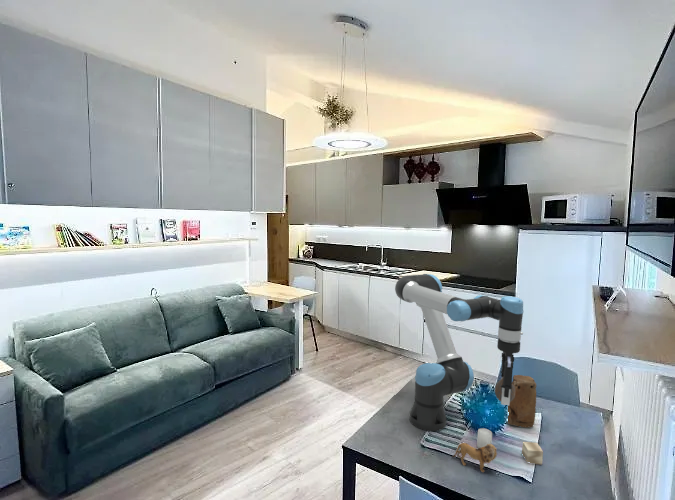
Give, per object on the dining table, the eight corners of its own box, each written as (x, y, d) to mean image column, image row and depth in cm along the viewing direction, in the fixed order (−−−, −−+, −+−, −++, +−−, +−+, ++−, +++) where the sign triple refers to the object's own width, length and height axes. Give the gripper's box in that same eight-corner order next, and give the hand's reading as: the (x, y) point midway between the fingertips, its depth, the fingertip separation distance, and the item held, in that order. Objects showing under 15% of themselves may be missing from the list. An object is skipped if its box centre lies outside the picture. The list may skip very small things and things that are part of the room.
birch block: (527, 463, 133) (528, 450, 133) (521, 454, 138) (522, 441, 138) (542, 464, 133) (543, 451, 132) (536, 455, 138) (537, 442, 137)
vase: (515, 406, 135) (517, 383, 135) (494, 402, 138) (496, 379, 137) (513, 397, 142) (515, 375, 141) (493, 394, 144) (495, 372, 143)
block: (528, 419, 162) (532, 375, 160) (535, 429, 154) (539, 382, 152) (502, 417, 163) (505, 373, 161) (508, 427, 156) (511, 380, 153)
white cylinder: (476, 449, 140) (477, 434, 140) (476, 441, 145) (477, 427, 144) (491, 452, 139) (492, 437, 138) (490, 445, 143) (492, 430, 143)
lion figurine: (495, 466, 131) (497, 442, 130) (495, 476, 126) (497, 451, 125) (452, 454, 137) (453, 431, 136) (449, 463, 132) (451, 439, 131)
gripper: (523, 350, 127) (518, 415, 129) (517, 332, 145) (513, 389, 148) (499, 347, 129) (494, 410, 132) (496, 330, 148) (492, 386, 150)
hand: (504, 399), depth 140 cm, fingers closed on vase, 7 cm apart
